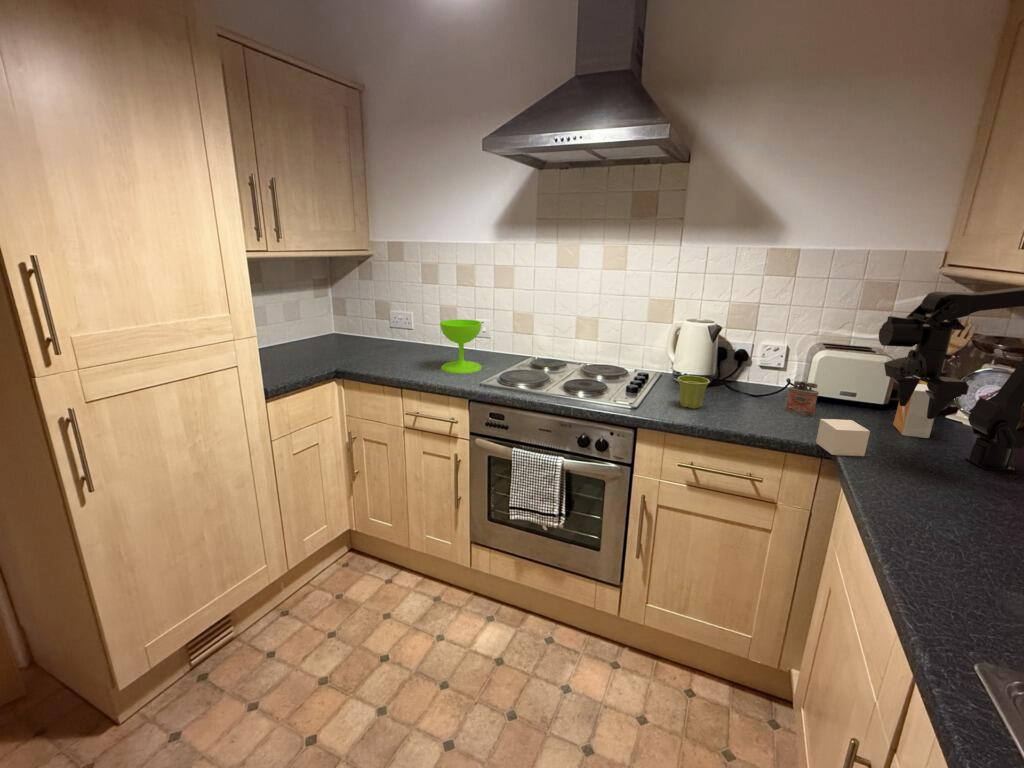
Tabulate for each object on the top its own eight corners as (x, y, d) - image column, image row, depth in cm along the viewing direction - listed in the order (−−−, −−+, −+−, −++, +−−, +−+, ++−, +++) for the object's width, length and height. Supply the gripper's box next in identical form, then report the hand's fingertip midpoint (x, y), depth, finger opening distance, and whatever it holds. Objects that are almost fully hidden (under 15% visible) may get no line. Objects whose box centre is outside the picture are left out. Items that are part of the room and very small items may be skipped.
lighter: (783, 410, 156) (788, 379, 153) (786, 408, 158) (792, 377, 155) (812, 417, 151) (818, 385, 148) (815, 414, 153) (821, 383, 150)
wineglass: (489, 366, 202) (489, 322, 197) (465, 375, 189) (464, 327, 184) (457, 361, 210) (457, 318, 205) (432, 369, 197) (431, 323, 192)
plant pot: (684, 411, 154) (687, 384, 151) (669, 401, 163) (672, 375, 160) (712, 409, 156) (715, 382, 153) (695, 400, 165) (698, 374, 162)
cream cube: (846, 443, 131) (851, 420, 129) (864, 456, 124) (870, 431, 122) (815, 442, 132) (820, 418, 130) (831, 454, 124) (837, 429, 123)
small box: (892, 425, 145) (903, 382, 142) (919, 428, 143) (930, 384, 139) (901, 435, 138) (912, 389, 134) (929, 438, 136) (942, 392, 132)
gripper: (870, 339, 125) (857, 399, 129) (924, 356, 107) (907, 425, 111) (917, 340, 124) (902, 400, 129) (979, 357, 106) (960, 426, 111)
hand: (915, 412), depth 120 cm, fingers open, 9 cm apart
